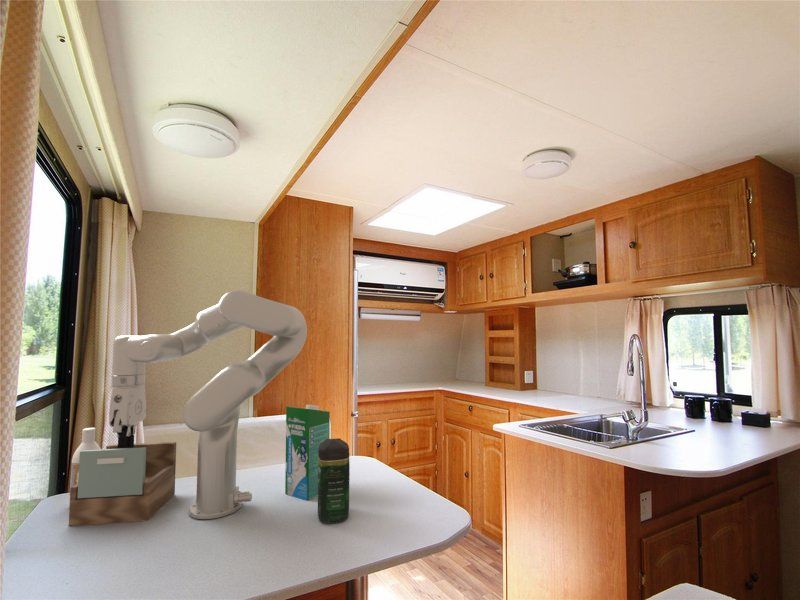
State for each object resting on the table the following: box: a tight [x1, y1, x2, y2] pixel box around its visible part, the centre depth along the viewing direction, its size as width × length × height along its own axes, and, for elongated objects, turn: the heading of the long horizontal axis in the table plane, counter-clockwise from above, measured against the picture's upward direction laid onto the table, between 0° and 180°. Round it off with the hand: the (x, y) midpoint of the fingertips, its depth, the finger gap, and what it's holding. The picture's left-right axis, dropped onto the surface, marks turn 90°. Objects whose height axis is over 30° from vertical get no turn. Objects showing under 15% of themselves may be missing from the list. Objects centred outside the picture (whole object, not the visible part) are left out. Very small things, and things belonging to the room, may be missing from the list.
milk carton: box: [284, 404, 331, 501], centre depth 119 cm, size 9×9×25 cm
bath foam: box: [69, 427, 102, 504], centre depth 113 cm, size 7×7×20 cm
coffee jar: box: [317, 438, 351, 524], centre depth 103 cm, size 10×8×19 cm
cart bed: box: [68, 441, 177, 526], centre depth 108 cm, size 18×16×15 cm
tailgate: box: [77, 447, 146, 498], centre depth 101 cm, size 15×2×11 cm, turn 98°
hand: (125, 451), depth 107 cm, fingers closed
